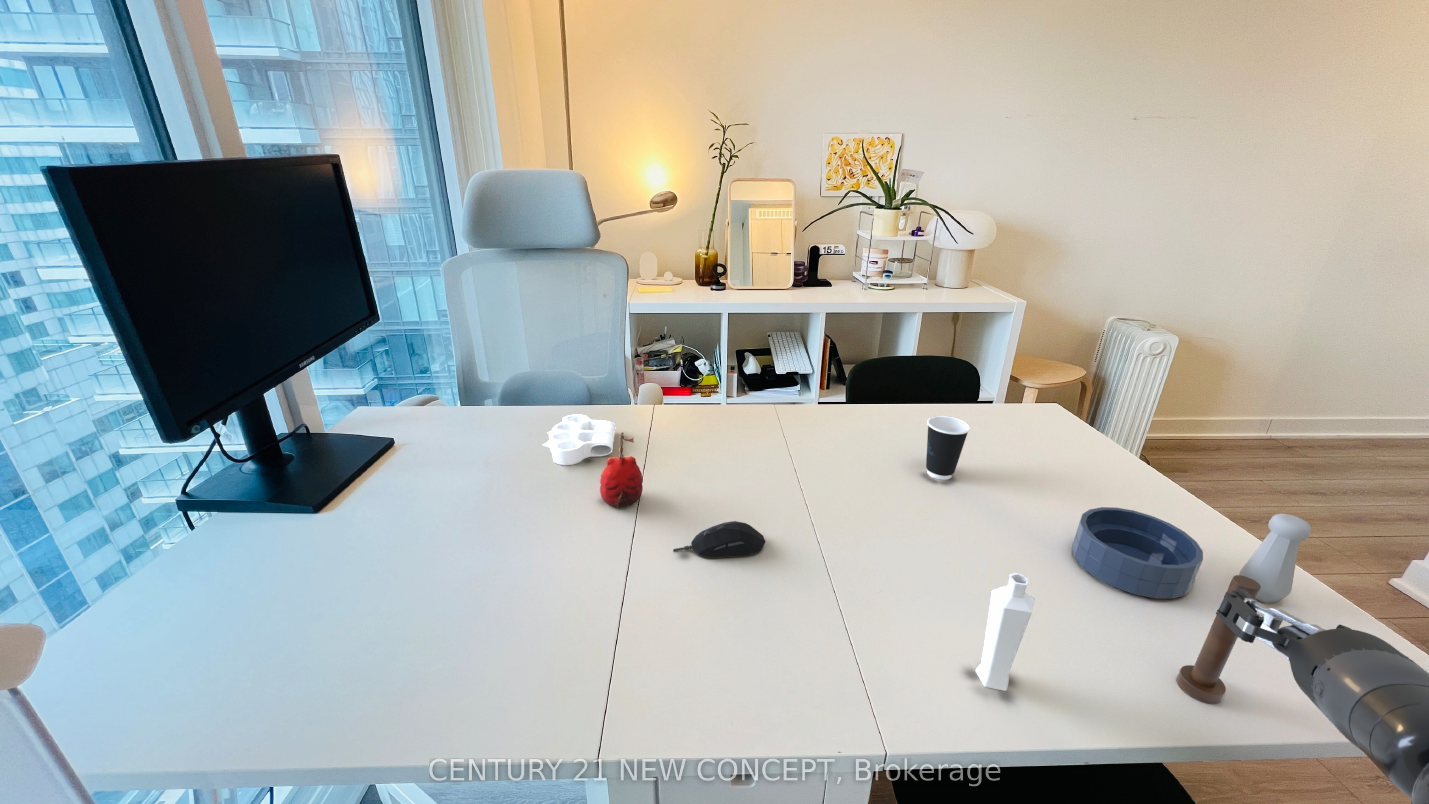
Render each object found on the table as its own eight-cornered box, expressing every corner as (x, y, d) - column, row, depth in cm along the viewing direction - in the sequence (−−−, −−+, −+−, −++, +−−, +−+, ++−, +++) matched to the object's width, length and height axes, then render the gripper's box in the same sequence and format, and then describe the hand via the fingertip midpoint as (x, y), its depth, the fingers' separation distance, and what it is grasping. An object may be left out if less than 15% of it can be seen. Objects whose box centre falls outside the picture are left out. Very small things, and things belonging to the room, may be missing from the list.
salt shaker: (1295, 607, 85) (1334, 532, 80) (1256, 607, 85) (1292, 531, 80) (1261, 580, 91) (1294, 508, 86) (1223, 580, 91) (1255, 507, 86)
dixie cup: (968, 476, 119) (979, 426, 114) (944, 487, 114) (954, 436, 110) (934, 460, 125) (943, 412, 120) (910, 470, 120) (918, 421, 116)
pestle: (1221, 686, 72) (1271, 580, 66) (1222, 710, 69) (1274, 601, 63) (1177, 668, 75) (1221, 564, 69) (1175, 691, 72) (1222, 584, 65)
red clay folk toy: (640, 488, 112) (637, 416, 106) (646, 508, 106) (643, 432, 100) (599, 493, 110) (594, 419, 104) (602, 514, 104) (597, 437, 98)
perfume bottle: (993, 698, 70) (1021, 597, 64) (966, 670, 74) (990, 572, 68) (1022, 687, 72) (1052, 587, 66) (994, 660, 75) (1020, 563, 70)
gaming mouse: (671, 539, 98) (671, 518, 96) (759, 532, 100) (760, 512, 98) (675, 563, 92) (675, 542, 90) (768, 555, 94) (770, 534, 93)
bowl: (1190, 562, 95) (1203, 530, 92) (1188, 617, 83) (1203, 583, 81) (1079, 526, 103) (1088, 496, 101) (1063, 572, 92) (1073, 539, 89)
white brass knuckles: (611, 464, 121) (537, 466, 119) (617, 426, 137) (552, 427, 136) (610, 449, 119) (535, 451, 118) (616, 413, 136) (551, 414, 135)
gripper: (1527, 702, 44) (1392, 613, 58) (1287, 616, 49) (1219, 554, 64) (1475, 786, 45) (1356, 678, 60) (1248, 693, 51) (1190, 615, 65)
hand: (1285, 614), depth 62 cm, fingers open, 8 cm apart
